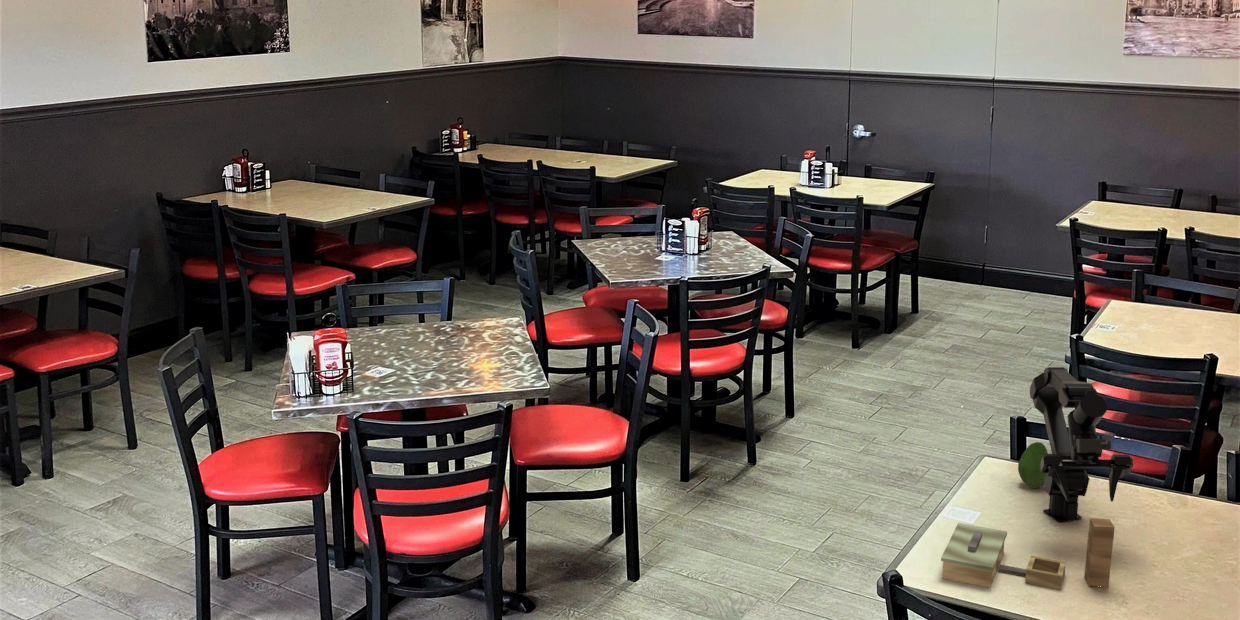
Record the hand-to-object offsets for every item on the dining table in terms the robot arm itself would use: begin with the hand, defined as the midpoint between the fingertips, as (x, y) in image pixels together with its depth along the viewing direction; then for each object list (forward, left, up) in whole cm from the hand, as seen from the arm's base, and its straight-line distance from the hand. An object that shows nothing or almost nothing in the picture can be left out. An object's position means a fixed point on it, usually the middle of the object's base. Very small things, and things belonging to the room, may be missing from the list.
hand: (1089, 500), depth 251 cm
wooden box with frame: (0, -21, -14) cm, 25 cm away
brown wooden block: (+11, -6, -14) cm, 18 cm away
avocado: (-36, +12, -14) cm, 41 cm away
